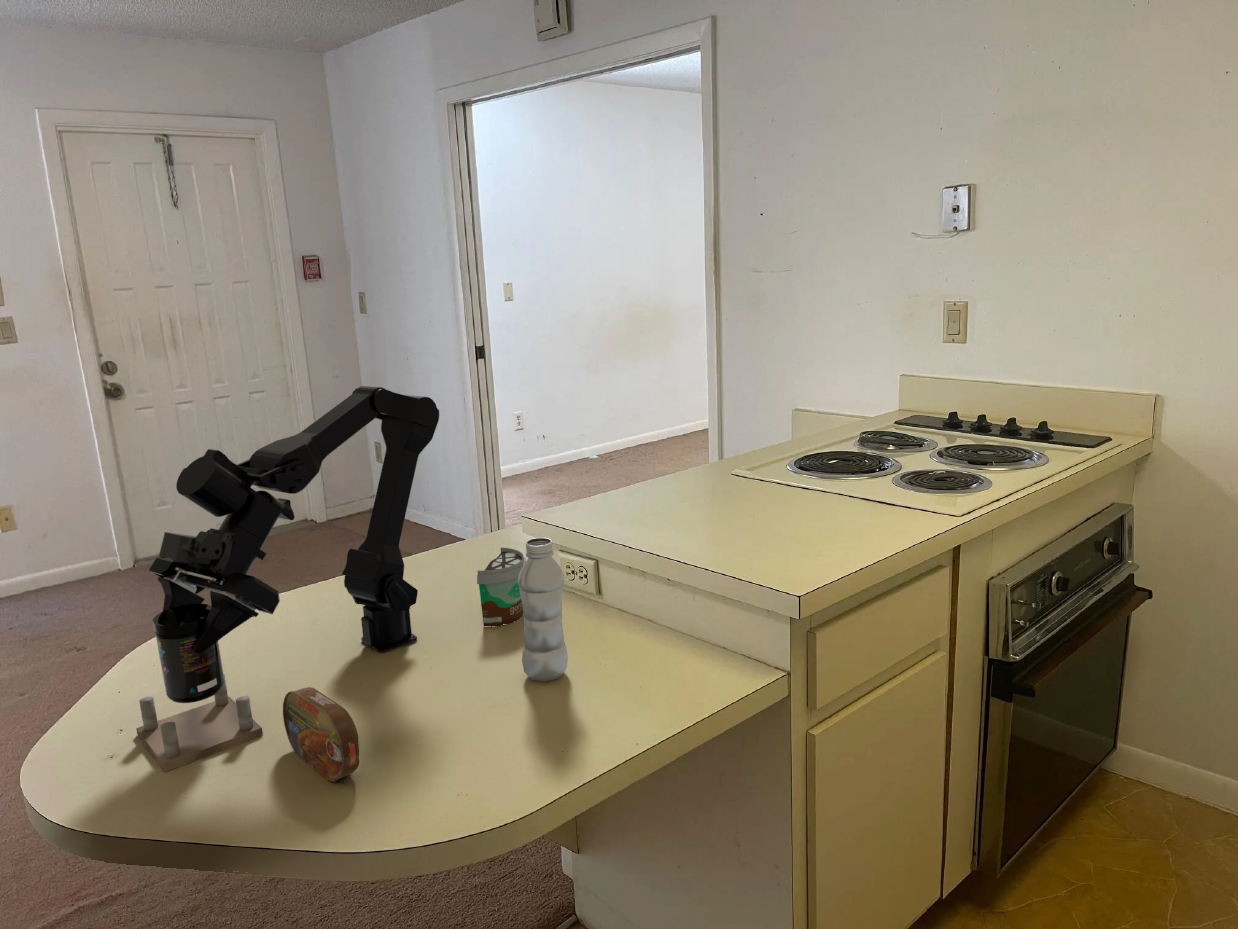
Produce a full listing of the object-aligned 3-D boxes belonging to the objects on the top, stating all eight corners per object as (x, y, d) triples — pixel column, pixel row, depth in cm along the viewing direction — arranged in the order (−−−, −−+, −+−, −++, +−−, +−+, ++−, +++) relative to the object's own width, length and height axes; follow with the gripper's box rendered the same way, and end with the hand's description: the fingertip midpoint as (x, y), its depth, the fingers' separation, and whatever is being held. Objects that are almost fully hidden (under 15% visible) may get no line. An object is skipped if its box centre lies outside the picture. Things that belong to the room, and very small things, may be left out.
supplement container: (203, 674, 116) (191, 599, 113) (237, 685, 112) (225, 609, 110) (154, 697, 110) (140, 619, 107) (189, 710, 107) (175, 630, 104)
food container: (517, 633, 141) (513, 573, 139) (480, 630, 142) (476, 571, 140) (539, 603, 153) (536, 547, 150) (505, 601, 154) (501, 546, 151)
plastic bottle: (513, 681, 125) (505, 546, 120) (539, 661, 131) (532, 532, 126) (552, 690, 122) (545, 552, 117) (577, 670, 128) (571, 537, 123)
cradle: (230, 703, 121) (225, 669, 120) (262, 734, 113) (257, 699, 112) (137, 735, 114) (131, 699, 113) (165, 772, 105) (158, 734, 104)
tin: (284, 745, 111) (276, 683, 109) (308, 735, 113) (300, 674, 111) (343, 794, 100) (335, 727, 98) (368, 782, 102) (360, 716, 100)
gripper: (150, 495, 113) (79, 607, 107) (245, 513, 104) (173, 637, 98) (214, 535, 122) (152, 641, 115) (307, 555, 112) (245, 672, 106)
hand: (177, 647), depth 108 cm, fingers closed on supplement container, 7 cm apart
